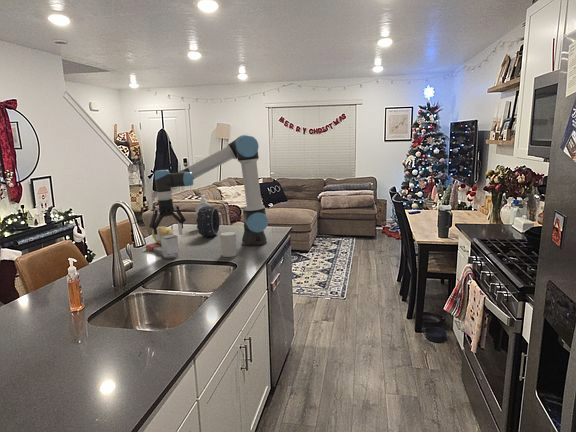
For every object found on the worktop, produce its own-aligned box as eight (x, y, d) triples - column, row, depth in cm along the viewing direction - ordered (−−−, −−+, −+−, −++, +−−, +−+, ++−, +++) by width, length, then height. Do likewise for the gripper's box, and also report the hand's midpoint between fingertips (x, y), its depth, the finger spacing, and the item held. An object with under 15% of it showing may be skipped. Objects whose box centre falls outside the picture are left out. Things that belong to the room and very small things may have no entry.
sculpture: (150, 244, 242) (148, 228, 240) (161, 239, 253) (160, 223, 251) (166, 245, 238) (164, 228, 236) (177, 240, 250) (175, 224, 248)
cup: (220, 254, 215) (218, 233, 213) (234, 251, 219) (232, 231, 217) (224, 257, 208) (223, 236, 206) (238, 255, 212) (237, 234, 210)
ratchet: (181, 256, 213) (179, 242, 211) (167, 260, 208) (166, 246, 206) (156, 247, 234) (154, 234, 233) (143, 250, 229) (141, 237, 227)
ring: (221, 232, 268) (219, 203, 264) (213, 239, 249) (210, 209, 245) (206, 232, 269) (204, 204, 265) (196, 239, 250) (194, 209, 246)
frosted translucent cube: (178, 251, 212) (177, 235, 211) (167, 254, 208) (166, 238, 206) (173, 249, 217) (171, 234, 215) (162, 252, 212) (160, 236, 211)
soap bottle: (216, 226, 287) (213, 194, 282) (212, 228, 279) (210, 195, 274) (199, 226, 288) (196, 194, 284) (195, 229, 281) (192, 196, 276)
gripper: (182, 195, 218) (186, 231, 222) (139, 202, 201) (144, 241, 205) (189, 196, 213) (193, 233, 217) (145, 203, 196) (151, 243, 200)
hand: (169, 237), depth 211 cm, fingers open, 13 cm apart
